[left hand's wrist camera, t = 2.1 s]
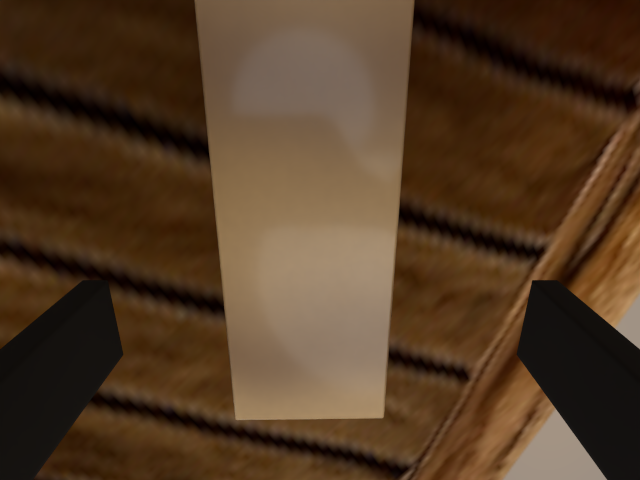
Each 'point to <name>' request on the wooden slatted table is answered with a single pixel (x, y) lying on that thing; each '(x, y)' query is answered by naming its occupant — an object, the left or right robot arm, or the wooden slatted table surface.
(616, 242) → the wooden slatted table surface
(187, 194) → the wooden slatted table surface
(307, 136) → the bar
